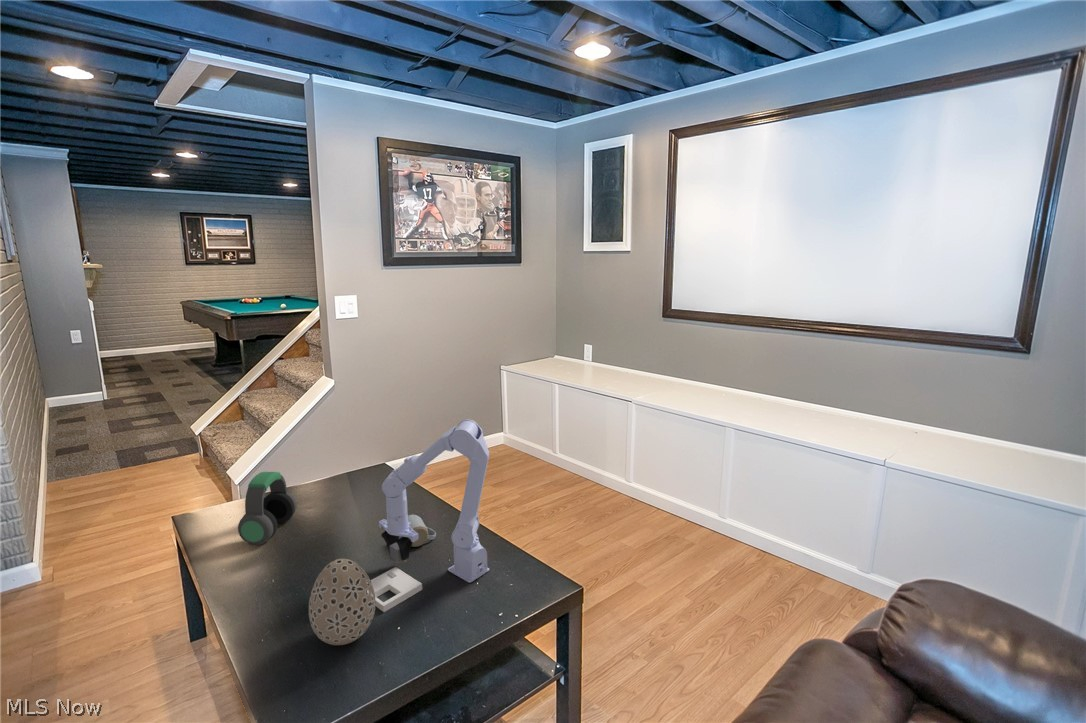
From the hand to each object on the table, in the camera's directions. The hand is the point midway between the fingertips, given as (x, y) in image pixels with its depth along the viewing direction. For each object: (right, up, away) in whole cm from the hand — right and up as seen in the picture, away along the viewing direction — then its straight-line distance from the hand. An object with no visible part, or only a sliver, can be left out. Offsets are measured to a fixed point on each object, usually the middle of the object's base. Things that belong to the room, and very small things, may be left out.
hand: (399, 556), depth 152 cm
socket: (0, -6, -10) cm, 12 cm away
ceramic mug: (+2, -1, +15) cm, 15 cm away
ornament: (-5, -9, -27) cm, 29 cm away
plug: (0, -1, 0) cm, 1 cm away
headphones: (-48, +1, +20) cm, 52 cm away
